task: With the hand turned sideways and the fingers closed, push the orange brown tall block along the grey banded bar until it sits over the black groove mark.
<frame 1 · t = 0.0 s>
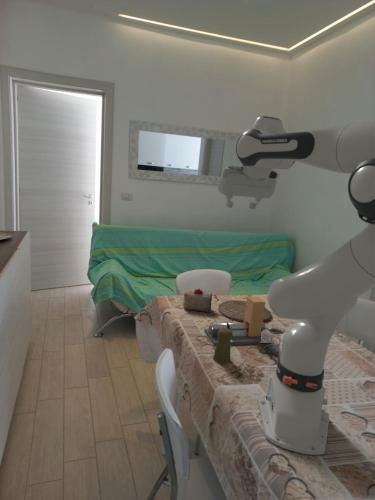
hand: (240, 207, 117), 52 cm above the table, tool tilted 20°, fingers open, 8 cm apart
food item: (196, 309, 163), on the table
trivet: (244, 313, 165), on the table
grey banded bar: (238, 328, 136), on the base board, point 4 cm above the table
cork: (221, 359, 119), on the table
orange brown tall block: (253, 316, 137), point 9 cm above the table, slide at -6.0 cm
base board: (237, 337, 137), on the table
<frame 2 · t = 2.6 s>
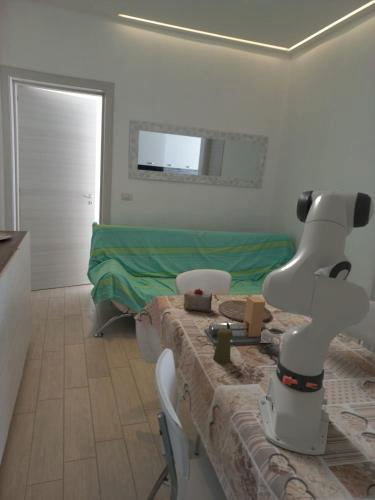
hand: (279, 279, 136), 24 cm above the table, tool horizontal, fingers open, 8 cm apart
nothing on the table moved.
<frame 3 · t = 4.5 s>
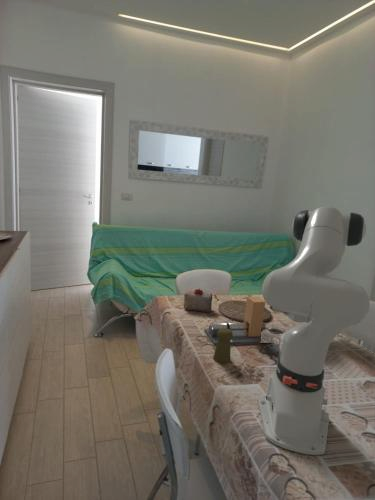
hand: (271, 307, 138), 12 cm above the table, tool horizontal, fingers closed
nothing on the table moved.
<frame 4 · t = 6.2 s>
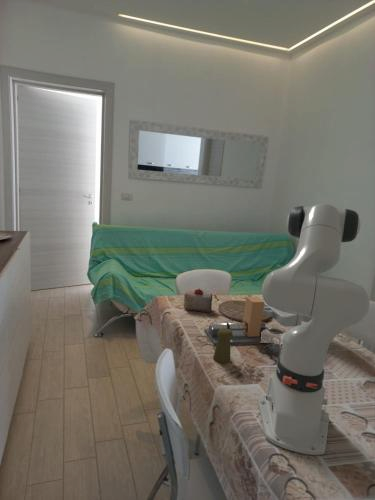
hand: (259, 311, 137), 11 cm above the table, tool horizontal, fingers closed, pressing on orange brown tall block
orange brown tall block: (252, 316, 137), point 9 cm above the table, slide at -5.5 cm, touching gripper
everything else where it was.
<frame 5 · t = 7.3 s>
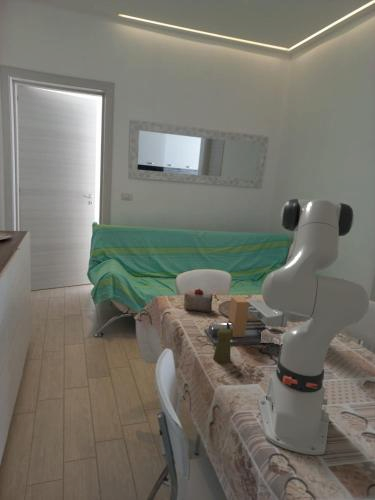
hand: (244, 311, 135), 11 cm above the table, tool horizontal, fingers closed, pressing on orange brown tall block
orange brown tall block: (237, 316, 135), point 9 cm above the table, slide at 0.9 cm, touching gripper
everything else where it was.
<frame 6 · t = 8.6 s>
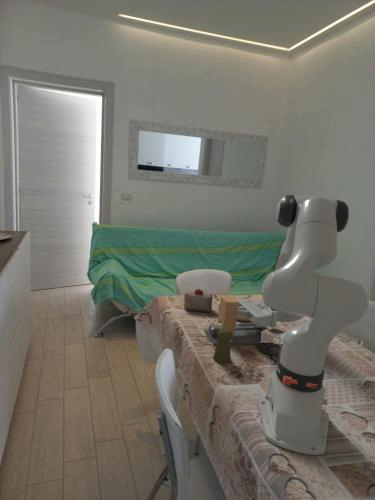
hand: (234, 311, 134), 11 cm above the table, tool horizontal, fingers closed, pressing on orange brown tall block
orange brown tall block: (227, 316, 134), point 9 cm above the table, slide at 5.3 cm, touching gripper
everything else where it was.
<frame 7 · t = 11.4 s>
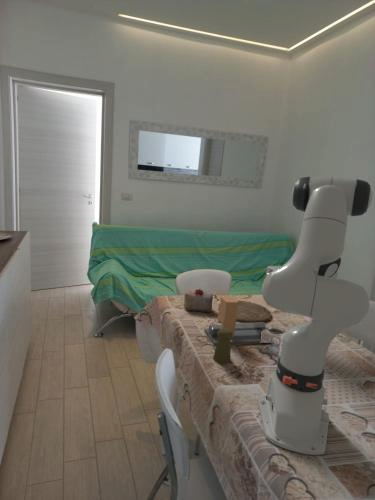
hand: (267, 276, 133), 26 cm above the table, tool horizontal, fingers closed
orange brown tall block: (227, 316, 134), point 9 cm above the table, slide at 5.4 cm
everything else where it was.
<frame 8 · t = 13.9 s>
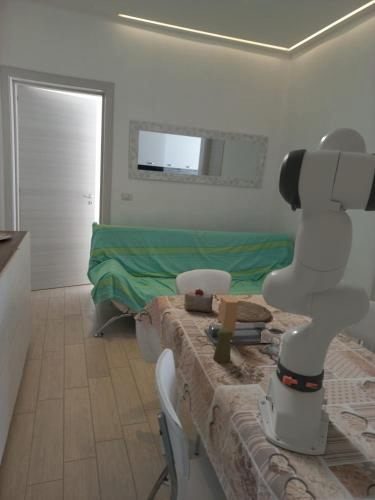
hand: (321, 260, 116), 37 cm above the table, tool pointing down, fingers closed
nothing on the table moved.
at the end: orange brown tall block slide at 5.4 cm; cork moved 0.2 cm from its start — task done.
